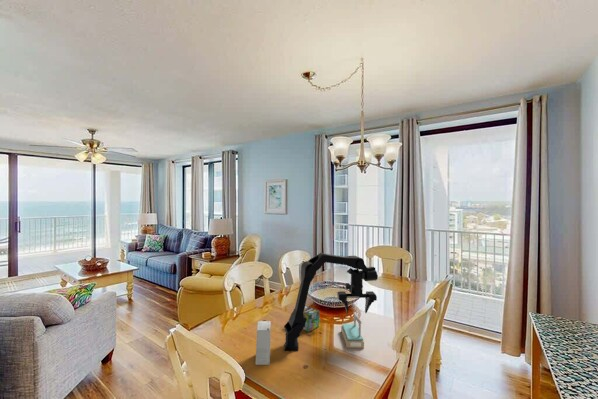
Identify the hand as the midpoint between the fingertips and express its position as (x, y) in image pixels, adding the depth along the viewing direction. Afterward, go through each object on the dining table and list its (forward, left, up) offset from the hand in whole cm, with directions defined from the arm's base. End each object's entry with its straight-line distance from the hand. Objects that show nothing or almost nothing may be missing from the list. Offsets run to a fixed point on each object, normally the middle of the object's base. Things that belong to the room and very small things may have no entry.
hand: (356, 313), depth 132 cm
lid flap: (0, +2, -9) cm, 10 cm away
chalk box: (+17, +29, -8) cm, 35 cm away
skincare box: (-18, +44, -13) cm, 50 cm away
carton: (0, +2, -13) cm, 13 cm away
